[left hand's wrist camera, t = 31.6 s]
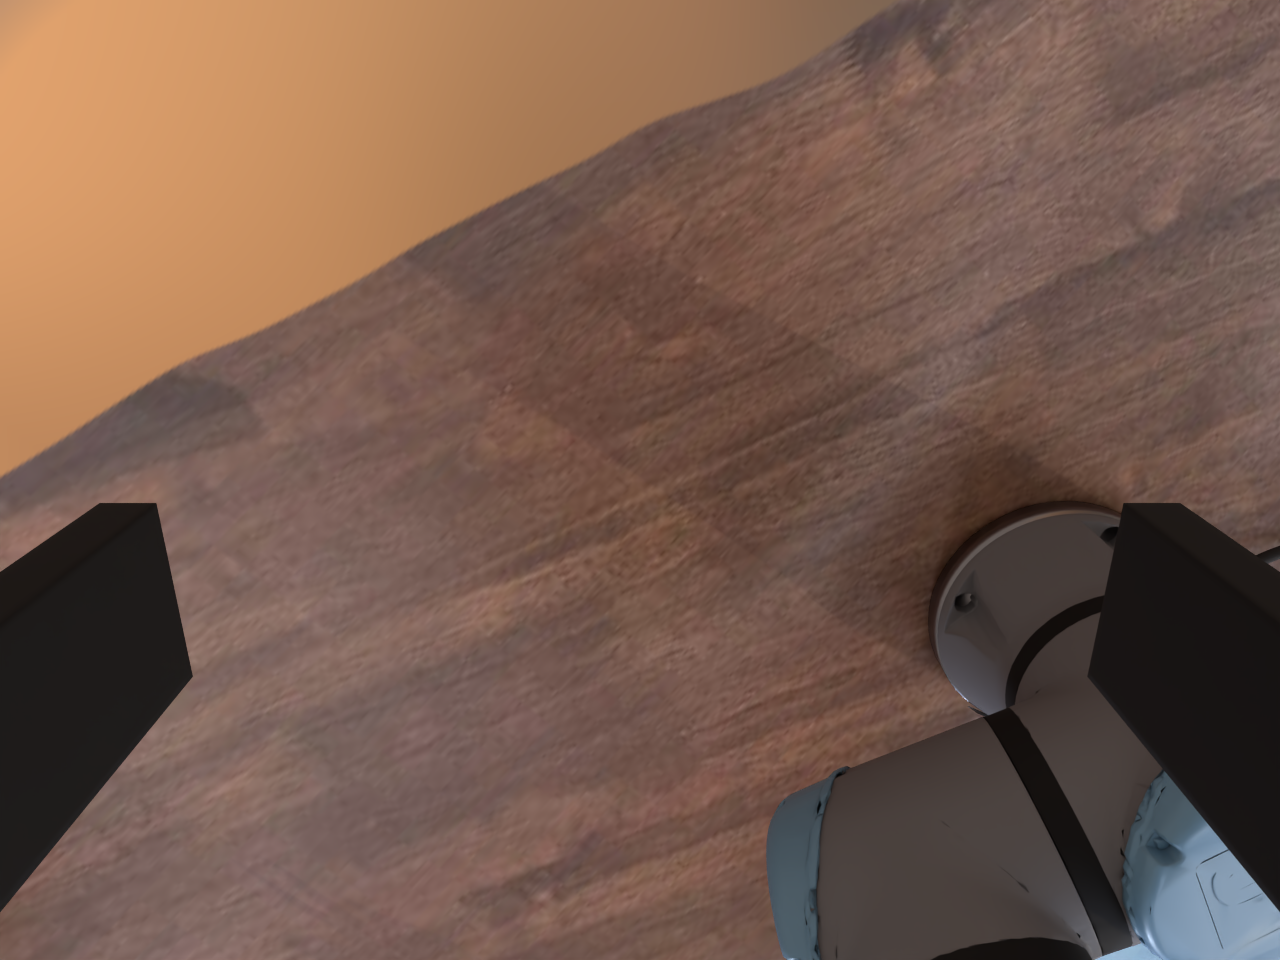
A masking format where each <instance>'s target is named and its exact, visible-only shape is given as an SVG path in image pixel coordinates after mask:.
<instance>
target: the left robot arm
mask: <svg viewBox="0 0 1280 960" xmlns="http://www.w3.org/2000/svg"><path fill="white" fill-rule="evenodd" d="M1278 559H1280V546H1278V547H1275V548H1272V549H1270V550H1267V551H1265V552H1263V553H1260V554H1258V555H1254V554H1253V553H1251V552H1250V551H1249V550H1247V549H1246V548H1244V547H1243V546H1241V545H1240V544H1238V543H1237V542H1236V541H1234V540H1233V539H1231V538H1230V537H1228V536H1227V535H1225V534H1224V533H1223V532H1221V531H1220V530H1218V529H1217V528H1215V527H1214V526H1212V525H1211V524H1210V523H1208V522H1207V521H1205V520H1204V519H1202V518H1201V517H1199V516H1198V515H1197V514H1195V513H1194V512H1192V511H1191V510H1189V509H1188V508H1186V507H1185V506H1184V505H1182V504H1181V503H1124V504H1123V509H1122V514H1119V513H1117V512H1115V511H1113V510H1111V509H1108V508H1105V507H1102V506H1099V505H1094V504H1090V503H1084V502H1073V501H1060V502H1049V503H1042V504H1037V505H1033V506H1028V507H1025V508H1022V509H1019V510H1016V511H1014V512H1011V513H1009V514H1006V515H1004V516H1002V517H1000V518H998V519H996V520H995V521H993V522H991V523H990V524H988V525H986V526H985V527H983V528H982V529H981V530H979V531H978V532H977V533H975V534H974V535H973V536H972V537H970V538H969V539H968V540H967V541H966V542H965V543H964V544H963V545H962V546H961V547H960V548H959V549H958V550H957V551H956V552H955V554H954V555H953V556H952V558H951V559H950V560H949V561H948V563H947V565H946V566H945V568H944V569H943V571H942V573H941V575H940V577H939V578H938V580H937V583H936V585H935V588H934V590H933V594H932V597H931V601H930V607H929V615H928V629H929V636H930V641H931V645H932V648H933V651H934V653H935V656H936V658H937V660H938V662H939V663H940V665H941V667H942V669H943V670H944V672H945V674H946V676H947V677H948V679H949V681H950V682H951V684H952V685H953V686H954V688H955V689H956V690H957V691H958V692H959V693H960V694H961V695H962V696H963V697H964V698H965V699H966V700H967V701H968V702H970V703H971V704H973V705H974V706H975V707H977V708H978V709H980V710H981V711H983V712H984V713H983V712H981V711H979V710H976V709H974V708H971V707H970V708H971V709H972V710H974V711H975V712H976V713H978V714H981V715H983V716H985V717H981V718H978V719H976V720H973V721H971V722H968V723H966V724H963V725H961V726H958V727H955V728H953V729H950V730H948V731H945V732H943V733H940V734H937V735H935V736H932V737H930V738H927V739H925V740H922V741H919V742H917V743H914V744H912V745H909V746H907V747H904V748H901V749H899V750H896V751H894V752H891V753H889V754H886V755H883V756H881V757H878V758H876V759H873V760H871V761H868V762H865V763H863V764H860V765H858V766H855V767H853V768H850V767H848V766H845V767H842V768H839V769H837V770H835V771H834V772H833V773H832V774H831V775H830V776H829V777H828V778H826V779H824V780H822V781H820V782H817V783H815V784H813V785H811V786H808V787H806V788H804V789H802V790H799V791H797V792H795V793H793V794H791V795H789V796H788V797H787V798H785V799H784V800H783V801H782V802H781V803H780V804H779V806H778V808H777V810H776V812H775V813H774V816H773V817H772V819H771V822H770V825H769V829H768V836H767V849H766V858H767V876H768V885H769V893H770V899H771V905H772V911H773V916H774V921H775V927H776V931H777V935H778V940H779V944H780V947H781V951H782V954H783V956H784V958H786V959H787V960H1095V959H1097V958H1099V957H1101V956H1104V955H1107V954H1110V953H1113V952H1116V951H1119V950H1122V949H1125V948H1128V947H1131V946H1135V945H1137V944H1140V943H1142V944H1143V945H1144V946H1146V947H1147V948H1148V949H1149V950H1150V951H1151V953H1152V954H1154V955H1157V956H1159V958H1161V959H1162V960H1280V572H1279V571H1277V570H1276V569H1275V568H1273V567H1272V566H1270V565H1269V564H1268V563H1270V562H1273V561H1275V560H1278ZM192 677H193V675H192V671H191V666H190V661H189V656H188V652H187V647H186V642H185V637H184V633H183V628H182V623H181V618H180V613H179V609H178V604H177V599H176V594H175V590H174V585H173V580H172V575H171V571H170V566H169V561H168V556H167V552H166V547H165V542H164V537H163V533H162V528H161V523H160V518H159V514H158V509H157V504H156V503H99V504H98V505H96V506H95V507H94V508H92V509H91V510H89V511H88V512H86V513H85V514H83V515H82V516H81V517H79V518H78V519H76V520H75V521H73V522H72V523H70V524H69V525H68V526H66V527H65V528H63V529H62V530H60V531H59V532H57V533H56V534H55V535H53V536H52V537H50V538H49V539H47V540H46V541H44V542H43V543H42V544H40V545H39V546H37V547H36V548H34V549H33V550H31V551H30V552H29V553H27V554H26V555H24V556H23V557H21V558H20V559H18V560H17V561H16V562H14V563H13V564H11V565H10V566H8V567H7V568H5V569H4V570H3V571H1V572H0V912H1V911H2V909H3V908H4V907H5V906H6V904H7V903H8V902H9V901H10V900H11V898H12V897H13V896H14V895H15V893H16V892H17V891H18V890H19V889H20V887H21V886H22V885H23V884H24V882H25V881H26V880H27V879H28V878H29V876H30V875H31V874H32V873H33V871H34V870H35V869H36V868H37V867H38V865H39V864H40V863H41V862H42V860H43V859H44V858H45V857H46V856H47V854H48V853H49V852H50V851H51V849H52V848H53V847H54V846H55V845H56V843H57V842H58V841H59V840H60V838H61V837H62V836H63V835H64V833H65V832H66V831H67V830H68V829H69V827H70V826H71V825H72V824H73V822H74V821H75V820H76V819H77V818H78V816H79V815H80V814H81V813H82V811H83V810H84V809H85V808H86V807H87V805H88V804H89V803H90V802H91V800H92V799H93V798H94V797H95V796H96V794H97V793H98V792H99V791H100V789H101V788H102V787H103V786H104V785H105V783H106V782H107V781H108V780H109V778H110V777H111V776H112V775H113V774H114V772H115V771H116V770H117V769H118V767H119V766H120V765H121V764H122V763H123V761H124V760H125V759H126V758H127V756H128V755H129V754H130V753H131V752H132V750H133V749H134V748H135V747H136V745H137V744H138V743H139V742H140V740H141V739H142V738H143V737H144V736H145V734H146V733H147V732H148V731H149V729H150V728H151V727H152V726H153V725H154V723H155V722H156V721H157V720H158V718H159V717H160V716H161V715H162V714H163V712H164V711H165V710H166V709H167V707H168V706H169V705H170V704H171V703H172V701H173V700H174V699H175V698H176V696H177V695H178V694H179V693H180V692H181V690H182V689H183V688H184V687H185V685H186V684H187V683H188V682H189V681H190V679H191V678H192ZM968 707H969V706H968Z"/></svg>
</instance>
